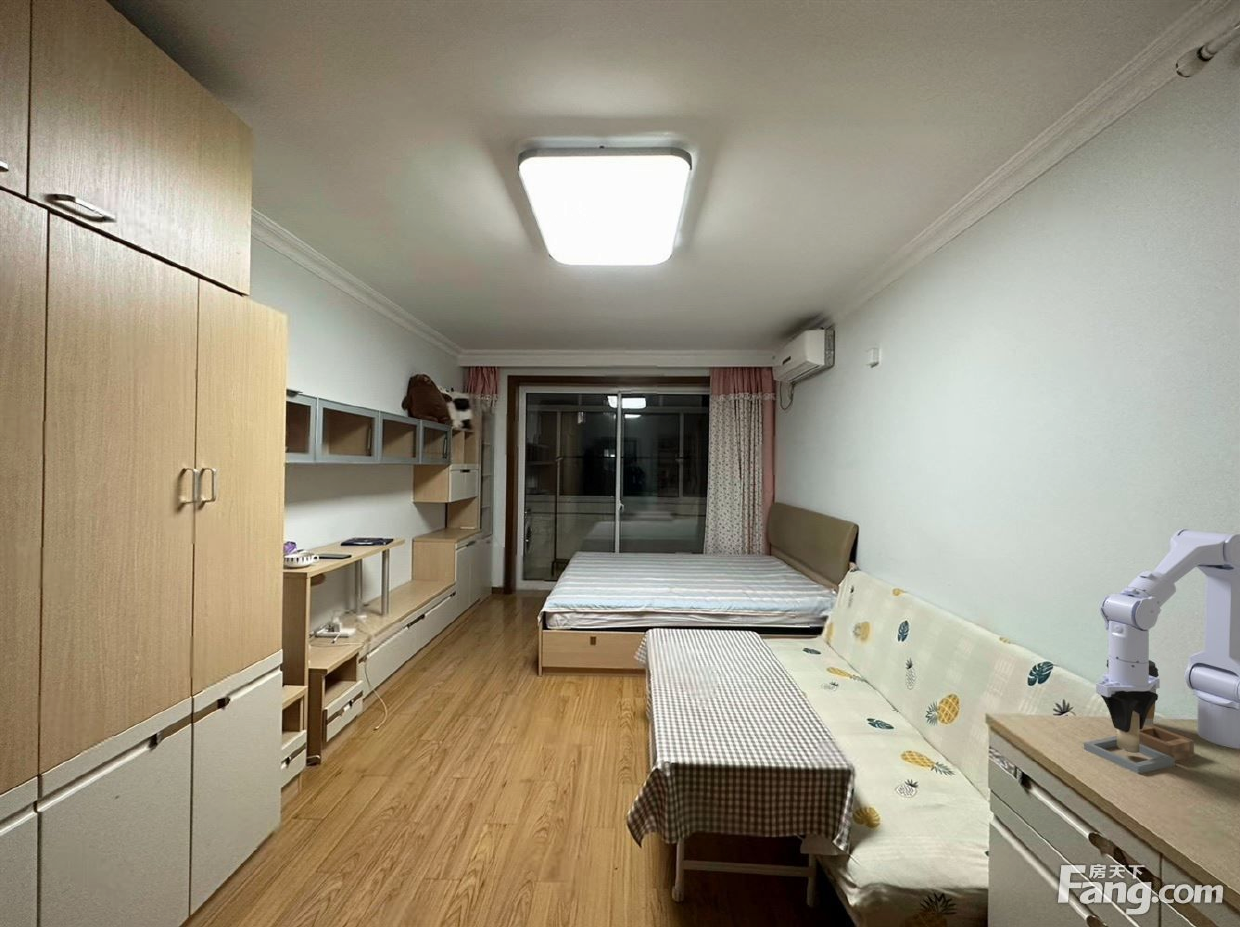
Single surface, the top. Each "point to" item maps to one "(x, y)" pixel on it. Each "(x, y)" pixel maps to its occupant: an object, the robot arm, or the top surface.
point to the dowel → (1130, 736)
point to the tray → (1139, 767)
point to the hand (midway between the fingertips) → (1128, 728)
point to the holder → (1166, 742)
